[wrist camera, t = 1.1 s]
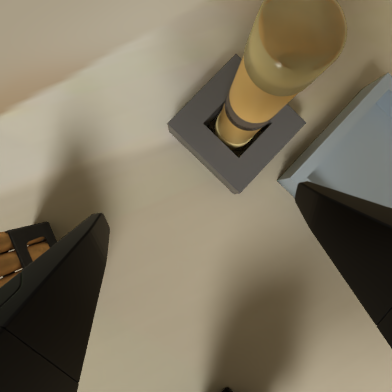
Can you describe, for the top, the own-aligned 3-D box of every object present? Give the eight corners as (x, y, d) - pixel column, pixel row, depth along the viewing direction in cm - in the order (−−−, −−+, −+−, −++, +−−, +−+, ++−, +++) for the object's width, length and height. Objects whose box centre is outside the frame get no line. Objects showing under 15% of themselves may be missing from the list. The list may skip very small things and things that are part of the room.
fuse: (258, 131, 23) (365, 29, 9) (233, 157, 23) (304, 93, 9) (231, 105, 23) (299, -37, 9) (206, 131, 23) (236, 26, 9)
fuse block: (293, 130, 24) (306, 122, 21) (234, 194, 23) (239, 193, 21) (230, 69, 23) (236, 53, 21) (169, 131, 23) (167, 123, 20)
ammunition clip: (87, 312, 22) (-29, 445, 10) (70, 320, 22) (-66, 462, 10) (48, 221, 22) (-115, 245, 10) (31, 228, 22) (-153, 261, 10)
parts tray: (452, 177, 24) (489, 174, 21) (370, 271, 24) (396, 281, 21) (362, 88, 24) (388, 72, 21) (276, 180, 23) (290, 177, 20)
